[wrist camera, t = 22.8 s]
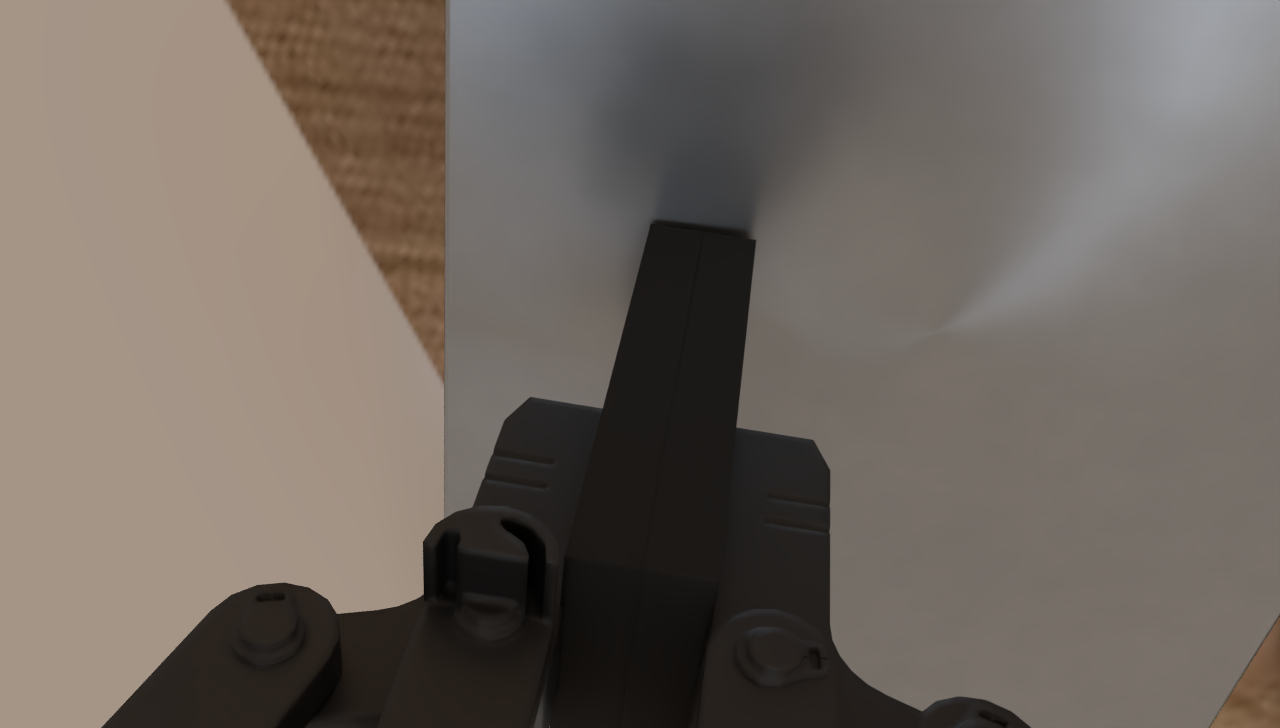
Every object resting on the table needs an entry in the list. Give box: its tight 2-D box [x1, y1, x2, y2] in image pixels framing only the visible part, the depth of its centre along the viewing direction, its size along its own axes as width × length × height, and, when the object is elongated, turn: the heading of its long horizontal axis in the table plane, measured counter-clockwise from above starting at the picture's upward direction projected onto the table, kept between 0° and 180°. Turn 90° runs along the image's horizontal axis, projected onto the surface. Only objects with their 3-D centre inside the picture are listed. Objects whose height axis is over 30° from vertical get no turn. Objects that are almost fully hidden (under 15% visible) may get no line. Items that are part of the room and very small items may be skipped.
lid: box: [444, 0, 1280, 728], centre depth 18 cm, size 15×20×1 cm
